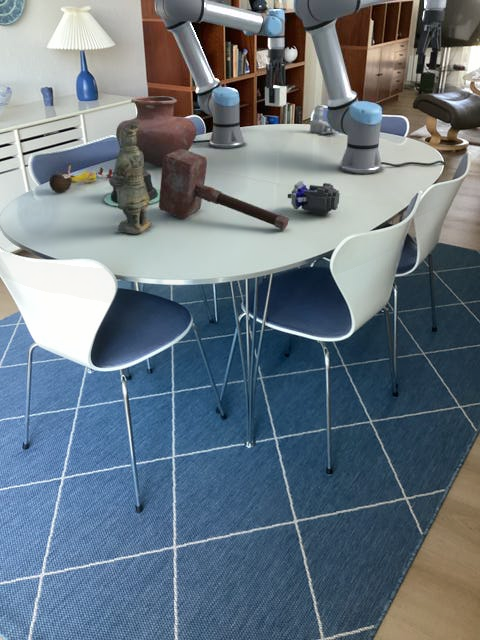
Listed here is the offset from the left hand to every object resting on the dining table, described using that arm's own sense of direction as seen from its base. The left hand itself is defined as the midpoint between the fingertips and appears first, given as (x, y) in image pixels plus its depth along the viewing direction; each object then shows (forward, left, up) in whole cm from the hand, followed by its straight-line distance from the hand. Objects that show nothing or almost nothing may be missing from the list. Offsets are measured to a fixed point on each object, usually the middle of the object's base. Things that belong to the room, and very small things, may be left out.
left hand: (275, 101), depth 265 cm
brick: (0, 0, -1) cm, 1 cm away
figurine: (-37, -106, -14) cm, 113 cm away
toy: (+50, -107, -14) cm, 118 cm away
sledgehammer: (+27, -122, -14) cm, 125 cm away
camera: (+24, +4, -14) cm, 28 cm away
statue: (+5, -137, -14) cm, 138 cm away
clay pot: (-25, -71, -14) cm, 76 cm away
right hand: (+69, -21, +17) cm, 74 cm away
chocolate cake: (-11, -112, -14) cm, 113 cm away
